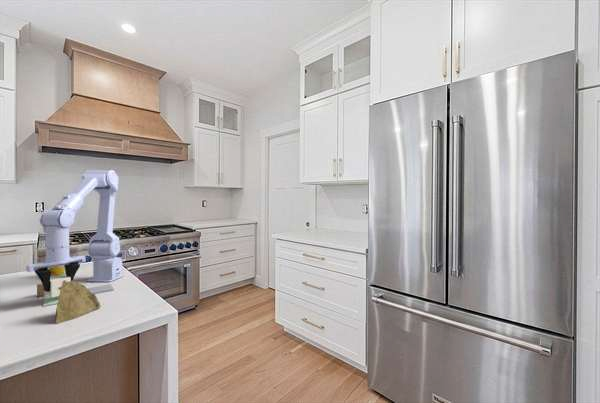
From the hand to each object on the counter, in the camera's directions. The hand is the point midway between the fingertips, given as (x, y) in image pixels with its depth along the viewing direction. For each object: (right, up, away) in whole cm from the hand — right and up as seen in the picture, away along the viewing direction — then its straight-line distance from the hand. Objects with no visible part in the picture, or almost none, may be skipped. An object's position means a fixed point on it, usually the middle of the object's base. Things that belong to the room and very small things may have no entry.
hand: (58, 288), depth 88 cm
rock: (+15, -5, -9) cm, 18 cm away
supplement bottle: (-23, -3, +25) cm, 34 cm away
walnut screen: (-7, -4, +6) cm, 10 cm away
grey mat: (+6, -4, +10) cm, 12 cm away
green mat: (0, -4, 0) cm, 4 cm away
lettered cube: (0, -2, 0) cm, 2 cm away
